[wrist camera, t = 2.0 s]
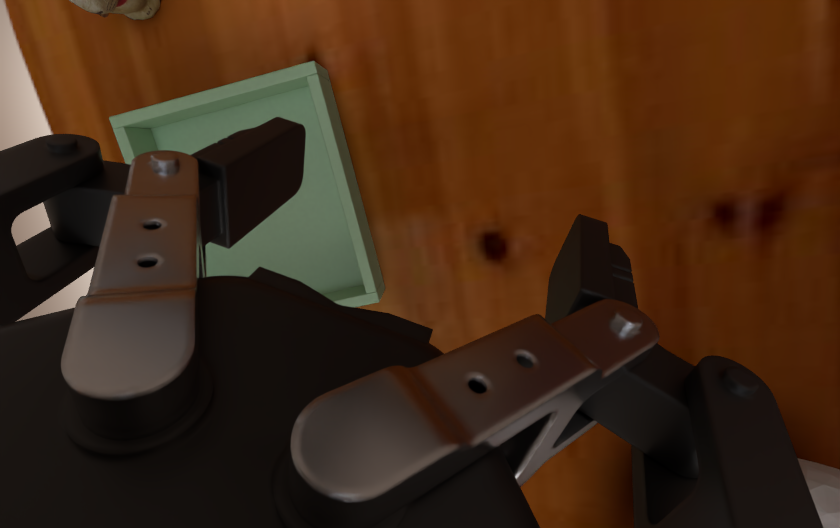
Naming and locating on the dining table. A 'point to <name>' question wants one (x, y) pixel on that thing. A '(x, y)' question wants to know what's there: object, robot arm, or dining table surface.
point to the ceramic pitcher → (823, 491)
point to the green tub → (307, 210)
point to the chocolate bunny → (121, 7)
